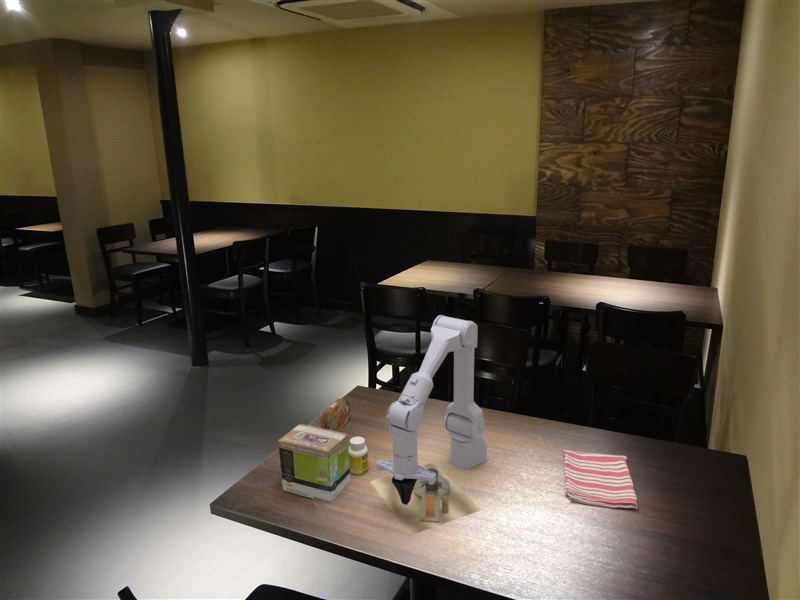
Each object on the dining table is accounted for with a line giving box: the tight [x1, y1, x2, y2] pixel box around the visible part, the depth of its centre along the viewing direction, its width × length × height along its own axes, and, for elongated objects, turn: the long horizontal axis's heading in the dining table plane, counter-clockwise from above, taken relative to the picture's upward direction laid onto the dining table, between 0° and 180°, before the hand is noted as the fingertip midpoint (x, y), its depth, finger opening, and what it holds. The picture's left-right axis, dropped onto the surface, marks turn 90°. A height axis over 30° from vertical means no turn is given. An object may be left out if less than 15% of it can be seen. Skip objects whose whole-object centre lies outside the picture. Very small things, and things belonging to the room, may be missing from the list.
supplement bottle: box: [349, 436, 369, 476], centre depth 149 cm, size 5×5×10 cm
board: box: [369, 462, 482, 536], centre depth 138 cm, size 19×23×1 cm
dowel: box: [442, 495, 449, 513], centre depth 132 cm, size 2×2×4 cm
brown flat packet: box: [320, 398, 351, 432], centre depth 172 cm, size 15×3×8 cm, turn 159°
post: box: [425, 468, 438, 491], centre depth 140 cm, size 3×3×5 cm
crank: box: [413, 476, 450, 521], centre depth 136 cm, size 17×9×5 cm, turn 175°
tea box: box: [277, 423, 351, 502], centre depth 142 cm, size 15×10×15 cm
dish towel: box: [562, 449, 639, 511], centre depth 145 cm, size 17×23×4 cm
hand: (406, 501), depth 132 cm, fingers closed
